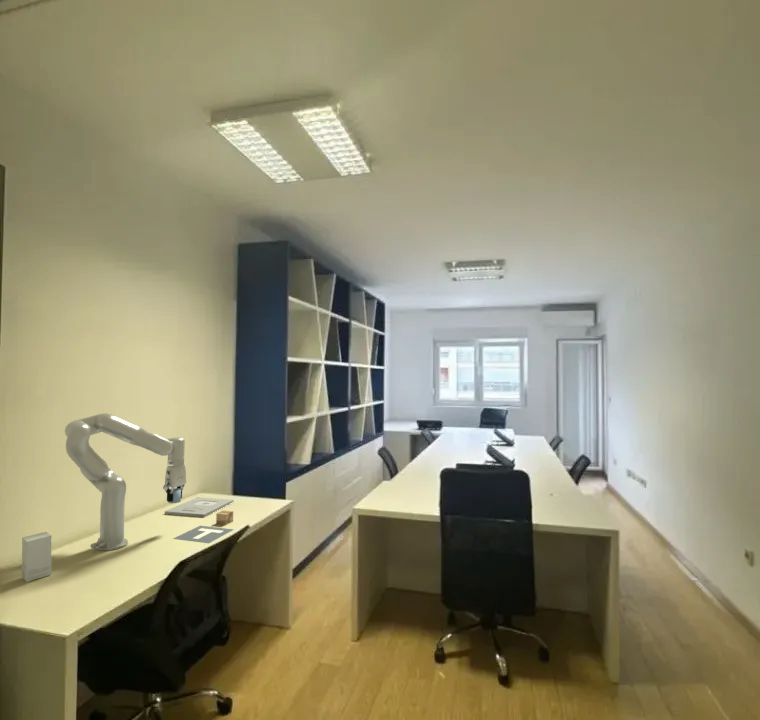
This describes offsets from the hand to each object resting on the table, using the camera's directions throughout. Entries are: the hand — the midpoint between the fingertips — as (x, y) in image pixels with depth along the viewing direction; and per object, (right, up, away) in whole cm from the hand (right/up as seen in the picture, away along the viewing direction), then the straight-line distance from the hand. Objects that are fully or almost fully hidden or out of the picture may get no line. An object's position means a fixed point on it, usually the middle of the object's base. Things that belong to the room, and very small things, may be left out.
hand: (174, 499), depth 233 cm
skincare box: (-31, -15, -51) cm, 62 cm away
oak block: (+21, -16, +13) cm, 29 cm away
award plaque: (-2, -18, +40) cm, 44 cm away
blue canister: (0, -1, 0) cm, 1 cm away
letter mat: (+17, -16, -5) cm, 23 cm away
